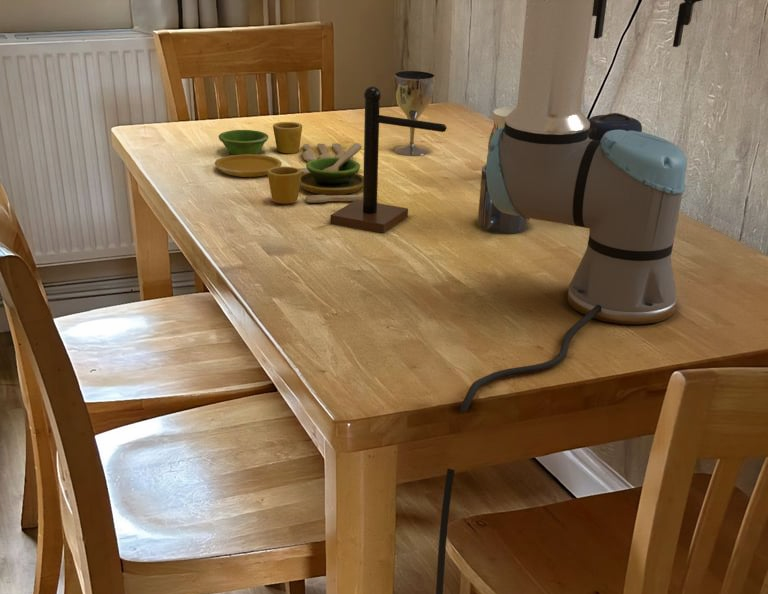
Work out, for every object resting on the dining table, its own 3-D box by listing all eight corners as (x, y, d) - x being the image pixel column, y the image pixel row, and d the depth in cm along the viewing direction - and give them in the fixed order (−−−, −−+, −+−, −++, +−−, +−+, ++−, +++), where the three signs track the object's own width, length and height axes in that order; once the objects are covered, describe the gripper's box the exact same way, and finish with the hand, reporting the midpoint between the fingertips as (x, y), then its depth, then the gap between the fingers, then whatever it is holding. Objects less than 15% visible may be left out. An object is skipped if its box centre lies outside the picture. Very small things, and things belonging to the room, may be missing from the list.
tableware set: (377, 204, 188) (378, 169, 185) (220, 209, 184) (218, 172, 181) (344, 144, 223) (344, 113, 219) (211, 146, 218) (209, 115, 215)
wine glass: (406, 143, 225) (409, 69, 217) (437, 150, 221) (442, 74, 213) (384, 151, 219) (387, 75, 211) (416, 158, 215) (419, 80, 207)
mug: (487, 214, 186) (492, 160, 181) (534, 222, 183) (540, 167, 178) (460, 236, 176) (464, 178, 171) (509, 244, 173) (514, 186, 168)
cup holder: (428, 241, 173) (435, 102, 161) (330, 223, 179) (330, 88, 167) (451, 224, 181) (459, 90, 169) (356, 207, 187) (358, 77, 175)
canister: (627, 230, 181) (645, 122, 171) (572, 225, 182) (586, 117, 173) (628, 213, 189) (644, 109, 179) (574, 208, 190) (588, 104, 181)
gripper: (741, -98, 167) (714, 45, 178) (588, -107, 176) (572, 31, 187) (733, -96, 161) (706, 52, 173) (575, -105, 170) (559, 37, 181)
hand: (636, 41), depth 180 cm, fingers open, 13 cm apart
